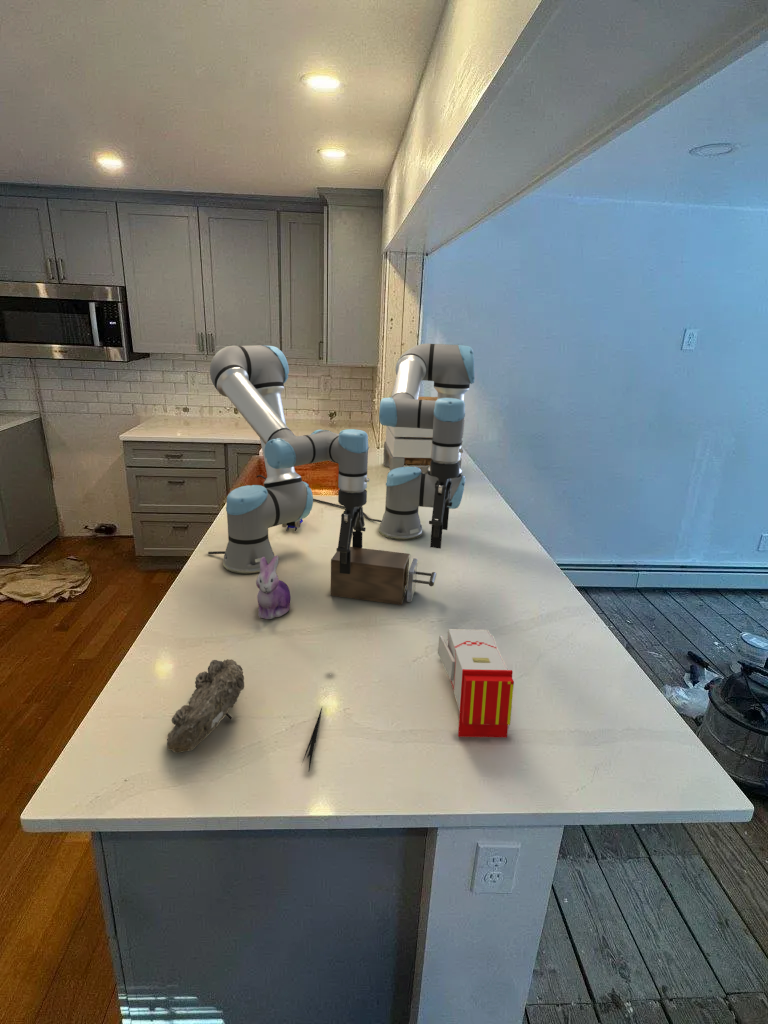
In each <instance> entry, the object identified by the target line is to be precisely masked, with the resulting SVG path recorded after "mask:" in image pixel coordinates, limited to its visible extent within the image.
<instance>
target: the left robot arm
mask: <svg viewBox="0 0 768 1024" xmlns="http://www.w3.org/2000/svg"><path fill="white" fill-rule="evenodd" d="M289 374H290V368H289V363H288V360H287V358H286V356H285V354H284V352H283V351H282V350H280V348H279V347H277V346H274V345H266V344H261V345H259V344H258V345H257V344H255V345H228V346H225V347H223V348H221V349H219V350H218V351H217V352H216V353H215V355H214V356H213V357H212V359H211V362H210V364H209V376H210V379H211V383H212V385H213V387H214V388H215V389H216V391H217V392H218V393H219V395H221V396H223V397H226V398H228V400H229V401H230V402H231V403H232V405H233V406H234V407H235V408H236V410H237V411H238V412H239V414H240V415H241V416H242V417H243V419H244V420H245V421H246V422H247V424H248V425H249V426H250V427H251V429H252V430H253V431H254V432H255V433H256V435H257V436H258V437H259V440H260V446H261V451H262V456H263V461H264V467H265V470H266V477H265V478H266V480H265V479H264V482H263V485H260V484H252V485H250V484H248V485H242V486H239V487H236V488H234V489H232V490H231V491H230V492H229V493H228V495H227V497H226V506H225V511H226V519H227V522H226V523H227V539H228V540H227V544H226V548H225V550H224V551H223V550H221V551H215V550H214V551H208V552H207V554H208V555H223V559H222V561H223V563H222V564H223V567H224V569H225V570H227V571H229V572H231V573H234V574H239V575H241V574H242V575H250V574H251V575H252V574H260V559H261V558H262V557H265V559H266V561H267V563H268V564H269V563H270V562H271V560H272V559H273V558H274V557H275V556H276V555H275V553H274V550H273V547H272V544H271V542H270V539H269V529H270V528H273V527H277V526H282V524H285V523H289V522H296V521H298V520H300V519H302V520H304V519H306V518H307V517H309V515H310V514H311V512H312V509H313V505H314V500H313V499H314V495H313V491H312V489H311V487H310V486H309V483H307V482H306V481H303V478H302V476H301V475H300V474H299V473H298V472H296V468H295V467H299V466H303V465H311V464H315V463H322V462H327V461H328V462H331V463H336V464H338V474H337V476H338V477H337V478H338V479H337V480H338V482H337V483H338V484H337V487H338V491H337V492H338V493H337V495H338V497H337V501H338V505H341V506H345V508H346V509H345V508H344V510H343V513H341V515H340V528H339V536H338V543H337V547H336V552H337V551H338V552H340V573H343V574H350V562H351V550H350V547H357V548H363V534H364V533H363V532H366V529H367V528H366V527H365V524H366V523H365V518H364V517H365V516H364V515H363V512H364V508H363V506H365V505H366V504H367V501H368V500H367V499H368V491H367V487H368V482H370V478H368V465H369V464H368V463H369V448H370V447H369V435H368V433H367V432H366V431H365V430H362V429H355V428H347V429H342V430H340V431H339V433H337V432H333V431H331V430H327V429H316V430H314V431H313V432H311V433H310V434H304V435H303V434H302V435H296V434H295V433H294V432H293V431H292V430H291V429H290V427H288V426H287V422H286V421H287V420H286V416H285V411H284V406H283V401H282V395H281V394H282V393H283V391H284V390H285V384H286V383H287V381H288V379H289ZM300 521H301V520H300ZM351 545H352V546H351Z"/></svg>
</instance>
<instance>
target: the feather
mask: <svg viewBox="0 0 768 1024" xmlns="http://www.w3.org/2000/svg"><path fill="white" fill-rule="evenodd" d="M329 675H330V676H331V675H332V674H331V673H330V674H329ZM322 710H323V707H321V708H320V710H319V713H318V716H317V719H316V723H315V725H314V728H313V731H312V733H311V737H310V739H309V742H308V745H307V748H306V751H305V754H304V757H303V760H302V763H301V767H302V765H303V763H304V761H305V758H308V759H309V760H308V762H307V763H308V764H307V766H308V771H310V770H311V766H312V765H311V764H312V760H313V757H315V756H314V755H315V751H316V749H315V746H317V739H318V733H319V729H320V722H321V717H322V712H323V711H322ZM313 754H314V755H313ZM306 755H307V757H306Z"/></svg>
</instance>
